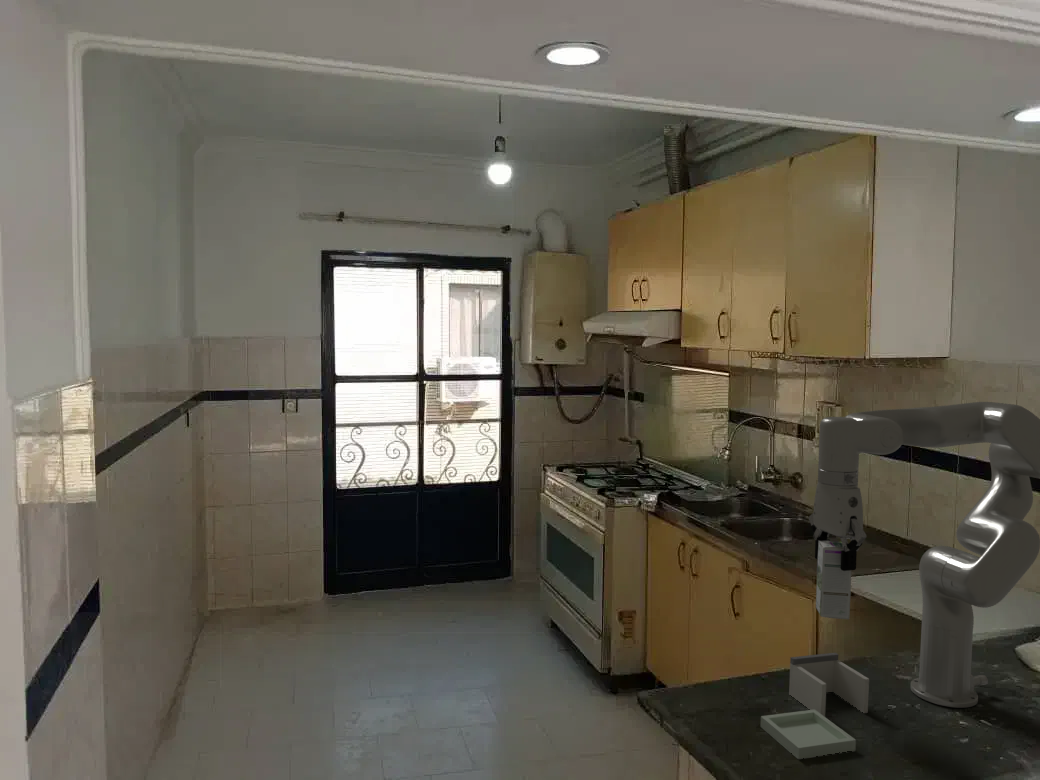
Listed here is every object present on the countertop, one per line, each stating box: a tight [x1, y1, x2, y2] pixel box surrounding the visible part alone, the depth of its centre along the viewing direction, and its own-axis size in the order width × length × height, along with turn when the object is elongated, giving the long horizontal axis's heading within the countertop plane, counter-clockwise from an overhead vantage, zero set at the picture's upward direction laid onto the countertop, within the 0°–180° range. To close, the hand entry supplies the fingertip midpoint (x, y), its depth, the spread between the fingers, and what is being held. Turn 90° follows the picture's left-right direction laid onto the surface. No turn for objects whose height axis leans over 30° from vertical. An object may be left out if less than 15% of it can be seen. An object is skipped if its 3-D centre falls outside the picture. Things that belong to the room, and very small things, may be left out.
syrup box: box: [815, 540, 852, 620], centre depth 157 cm, size 6×6×14 cm
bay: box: [788, 652, 870, 718], centre depth 159 cm, size 11×10×8 cm
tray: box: [759, 709, 857, 760], centre depth 145 cm, size 12×12×2 cm
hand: (834, 563), depth 157 cm, fingers closed on syrup box, 7 cm apart
